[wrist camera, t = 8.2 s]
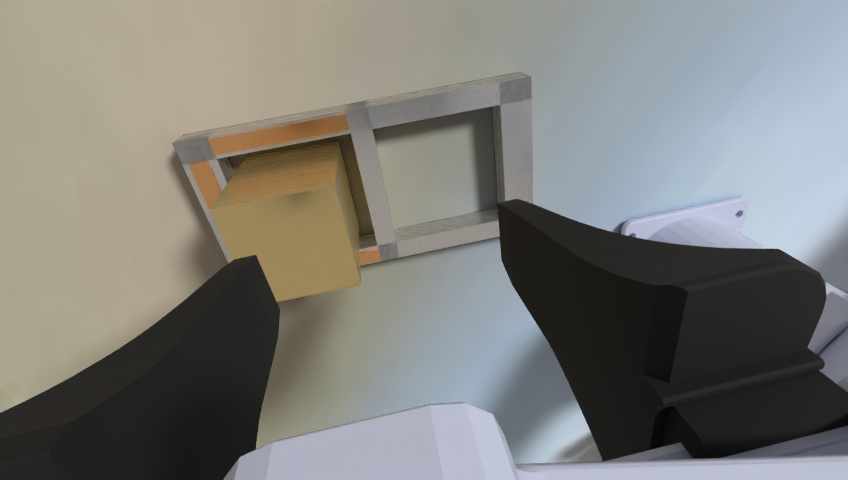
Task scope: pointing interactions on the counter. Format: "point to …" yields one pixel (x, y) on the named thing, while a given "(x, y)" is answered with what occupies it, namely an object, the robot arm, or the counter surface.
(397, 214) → the counter surface
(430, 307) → the counter surface
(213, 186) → the grey rectangular frame
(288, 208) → the tan wooden block
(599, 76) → the counter surface
